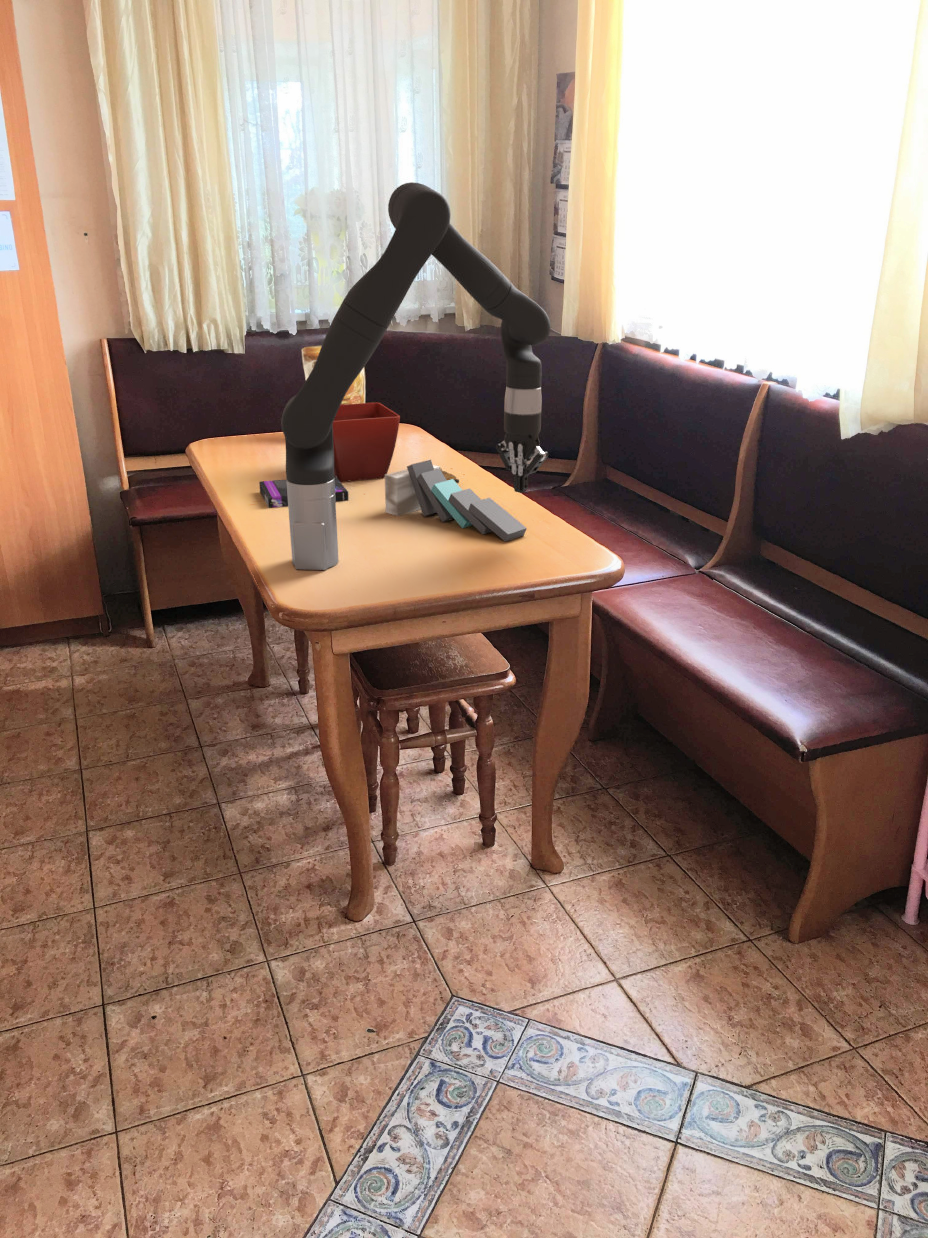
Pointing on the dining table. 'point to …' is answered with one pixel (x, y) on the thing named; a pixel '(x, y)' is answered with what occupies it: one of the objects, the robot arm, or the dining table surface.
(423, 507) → the domino
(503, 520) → the domino
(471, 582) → the dining table surface
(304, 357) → the pancake mix bag
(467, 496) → the domino
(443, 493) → the domino
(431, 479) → the domino
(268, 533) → the dining table surface
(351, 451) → the plant pot
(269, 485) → the box
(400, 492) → the block
